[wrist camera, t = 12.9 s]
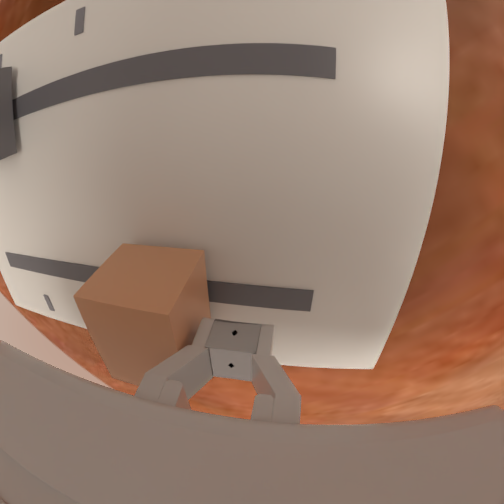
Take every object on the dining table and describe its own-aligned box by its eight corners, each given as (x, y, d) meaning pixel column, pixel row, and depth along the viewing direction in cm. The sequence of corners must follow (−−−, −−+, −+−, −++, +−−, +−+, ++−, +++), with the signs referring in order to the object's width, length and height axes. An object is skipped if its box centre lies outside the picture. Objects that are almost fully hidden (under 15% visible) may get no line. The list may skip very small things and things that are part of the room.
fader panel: (425, -6, 7) (444, -19, 5) (368, 344, 17) (373, 370, 15) (-18, 69, 10) (-38, 73, 8) (28, 291, 20) (15, 305, 18)
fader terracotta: (204, 250, 12) (168, 315, 8) (212, 334, 14) (191, 398, 11) (122, 243, 12) (72, 296, 9) (143, 323, 15) (112, 377, 12)
